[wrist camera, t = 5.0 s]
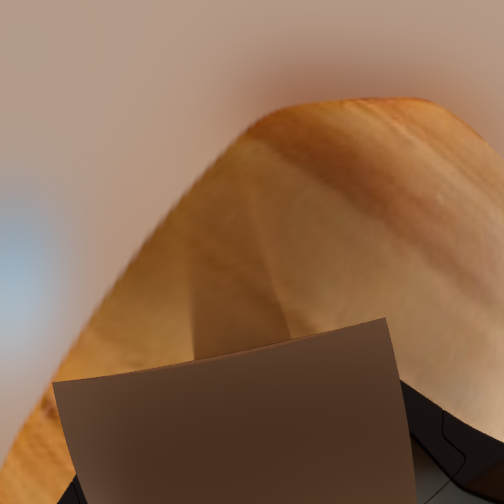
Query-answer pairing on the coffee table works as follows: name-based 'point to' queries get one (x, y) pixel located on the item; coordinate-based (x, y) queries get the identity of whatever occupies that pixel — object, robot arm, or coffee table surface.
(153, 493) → the walnut block
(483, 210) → the coffee table surface
